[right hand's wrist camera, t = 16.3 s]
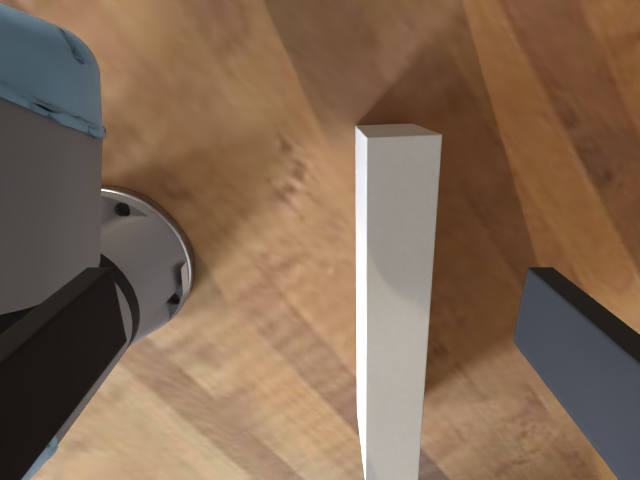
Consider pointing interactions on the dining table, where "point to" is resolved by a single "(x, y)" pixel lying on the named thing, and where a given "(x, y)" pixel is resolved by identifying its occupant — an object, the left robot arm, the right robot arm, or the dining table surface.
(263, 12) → the dining table surface
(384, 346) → the beam
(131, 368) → the dining table surface
